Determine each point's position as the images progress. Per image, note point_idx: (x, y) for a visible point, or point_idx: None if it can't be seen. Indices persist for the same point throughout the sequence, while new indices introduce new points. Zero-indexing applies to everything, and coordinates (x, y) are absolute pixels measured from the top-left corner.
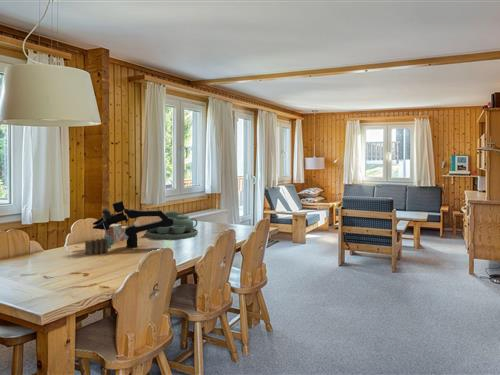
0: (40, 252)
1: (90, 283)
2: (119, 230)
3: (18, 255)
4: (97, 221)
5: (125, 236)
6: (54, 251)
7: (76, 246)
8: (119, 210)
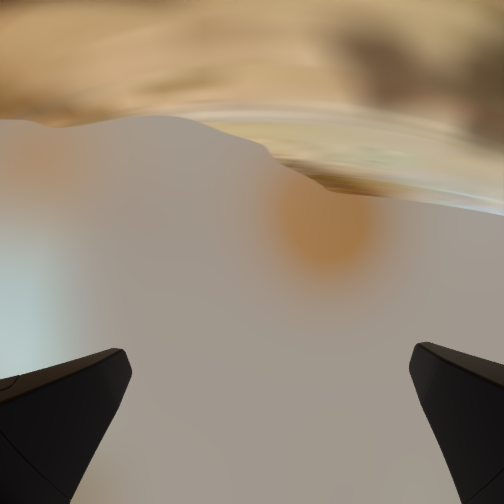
0: (319, 165)
1: None
2: None
3: (341, 185)
4: (90, 445)
5: None
6: (320, 145)
7: (167, 87)
8: None
